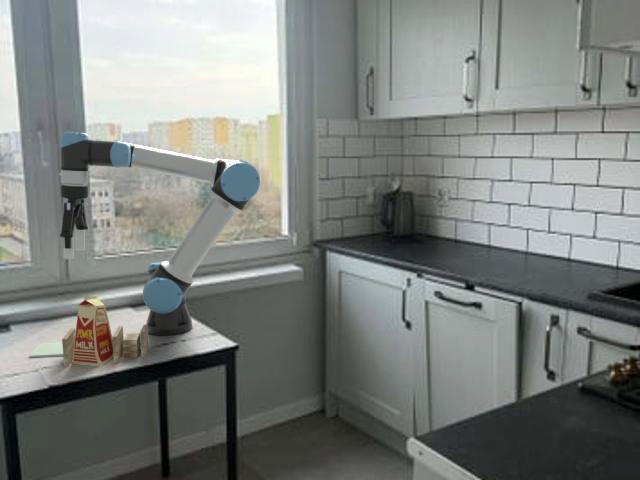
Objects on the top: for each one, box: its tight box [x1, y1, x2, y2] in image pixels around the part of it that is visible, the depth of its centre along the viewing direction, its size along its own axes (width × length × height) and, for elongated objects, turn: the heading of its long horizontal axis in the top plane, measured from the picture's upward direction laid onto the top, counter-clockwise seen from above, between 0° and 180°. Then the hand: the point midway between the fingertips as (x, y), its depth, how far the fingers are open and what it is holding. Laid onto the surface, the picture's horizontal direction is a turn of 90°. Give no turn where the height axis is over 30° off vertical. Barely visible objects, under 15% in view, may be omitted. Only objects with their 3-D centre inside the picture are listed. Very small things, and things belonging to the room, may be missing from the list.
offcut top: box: [123, 332, 141, 347], centre depth 179 cm, size 4×6×2 cm, turn 8°
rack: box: [61, 324, 150, 367], centre depth 176 cm, size 22×10×8 cm, turn 99°
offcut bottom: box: [122, 347, 141, 359], centre depth 179 cm, size 4×6×2 cm, turn 8°
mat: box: [28, 341, 63, 359], centre depth 183 cm, size 11×11×1 cm
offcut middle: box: [123, 340, 141, 353], centre depth 179 cm, size 4×6×2 cm, turn 8°
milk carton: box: [71, 294, 114, 367], centre depth 174 cm, size 9×9×20 cm
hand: (74, 254), depth 181 cm, fingers open, 13 cm apart
